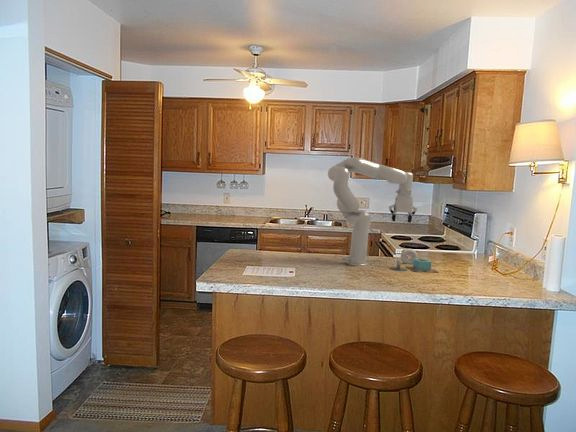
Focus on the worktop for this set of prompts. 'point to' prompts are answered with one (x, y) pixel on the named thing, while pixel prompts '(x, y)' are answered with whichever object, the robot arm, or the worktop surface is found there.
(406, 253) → the donut
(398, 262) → the stand
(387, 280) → the worktop surface
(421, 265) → the collar
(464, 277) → the worktop surface
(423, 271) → the hub board
